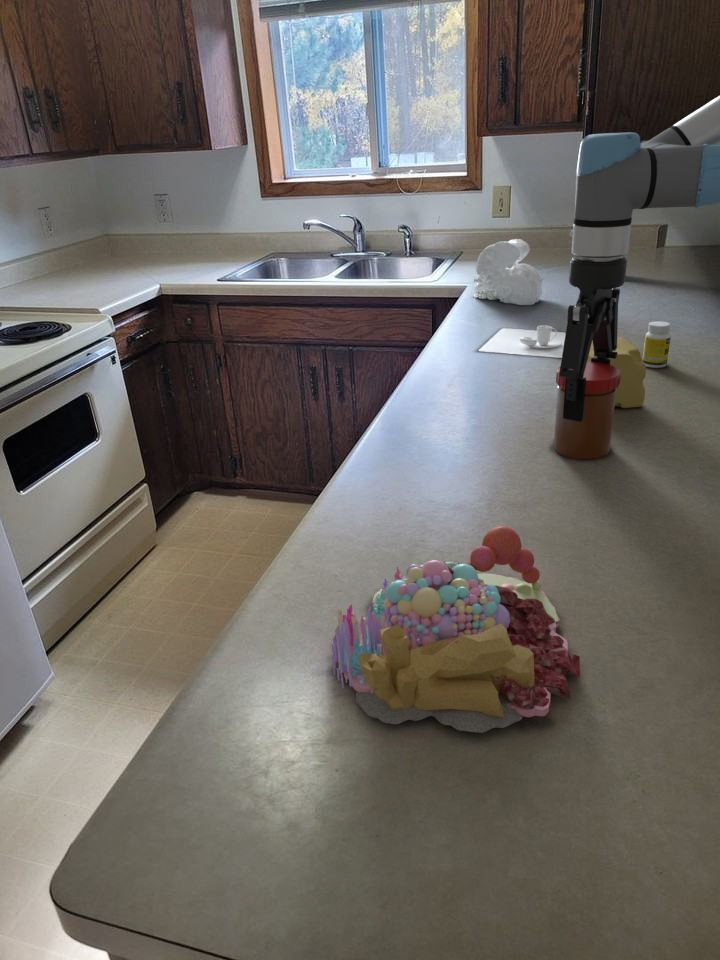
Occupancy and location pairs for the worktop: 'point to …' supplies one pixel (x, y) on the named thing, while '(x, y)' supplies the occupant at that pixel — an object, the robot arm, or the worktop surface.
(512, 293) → the white plaster sculpture
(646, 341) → the supplement bottle
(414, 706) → the pastel sphere sculpture
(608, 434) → the jam jar
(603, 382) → the lid
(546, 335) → the teacup and saucer
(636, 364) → the cheese
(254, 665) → the worktop surface
